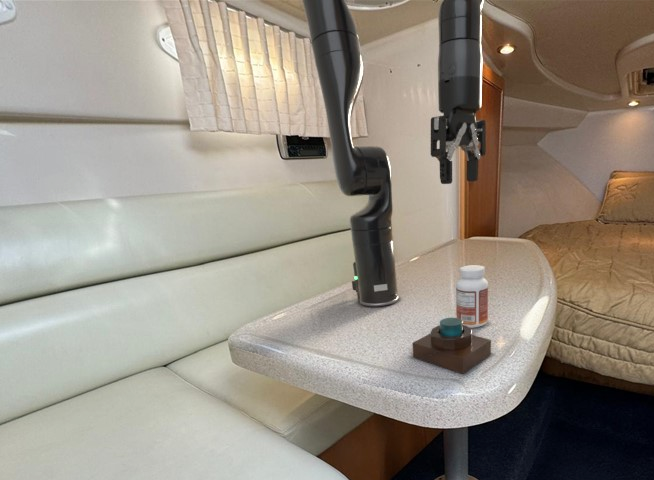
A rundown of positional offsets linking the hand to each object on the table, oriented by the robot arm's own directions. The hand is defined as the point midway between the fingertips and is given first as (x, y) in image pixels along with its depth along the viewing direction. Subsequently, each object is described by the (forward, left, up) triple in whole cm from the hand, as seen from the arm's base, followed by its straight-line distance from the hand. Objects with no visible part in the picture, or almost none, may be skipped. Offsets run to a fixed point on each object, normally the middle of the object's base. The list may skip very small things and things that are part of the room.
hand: (459, 182), depth 70 cm
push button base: (+12, -20, -26) cm, 35 cm away
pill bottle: (+7, -6, -26) cm, 27 cm away
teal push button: (+12, -20, -22) cm, 32 cm away
